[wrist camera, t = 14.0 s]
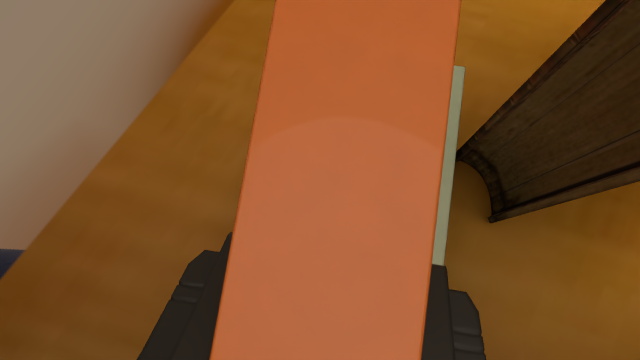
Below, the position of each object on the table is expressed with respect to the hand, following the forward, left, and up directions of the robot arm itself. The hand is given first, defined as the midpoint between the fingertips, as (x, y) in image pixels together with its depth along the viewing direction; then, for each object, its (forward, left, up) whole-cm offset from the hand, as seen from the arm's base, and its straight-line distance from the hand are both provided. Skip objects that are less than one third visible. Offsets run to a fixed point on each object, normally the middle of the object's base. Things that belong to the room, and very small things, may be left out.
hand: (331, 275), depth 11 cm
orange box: (0, +3, -15) cm, 15 cm away
